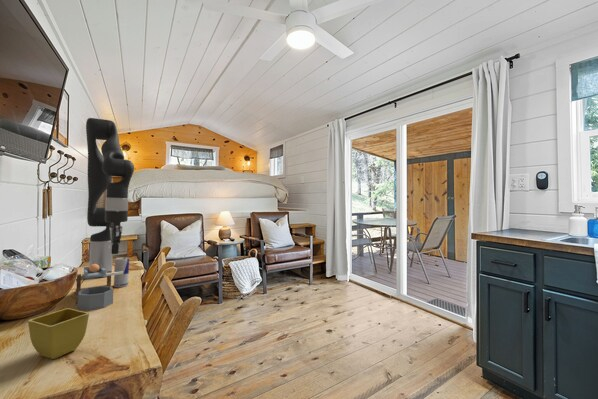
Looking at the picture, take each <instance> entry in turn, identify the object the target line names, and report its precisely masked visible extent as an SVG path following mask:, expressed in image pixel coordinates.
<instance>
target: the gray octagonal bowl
mask: <svg viewBox="0 0 598 399" xmlns="http://www.w3.org/2000/svg"><path fill="white" fill-rule="evenodd" d="M98 286H99V287H95V286H90V287H91V288H88V287H86V288H87V289H84V290H81V291H78V304H77V310H79V311H81V310H83V311H92V310H99V309H104V308H107V307H108V306H111V305H112V304H113V303H114V288H113V287H114V286H111V287H109V286H103V285H98Z"/></svg>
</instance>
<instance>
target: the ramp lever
mask: <svg viewBox="0 0 598 399" xmlns="http://www.w3.org/2000/svg"><path fill="white" fill-rule="evenodd" d="M119 274H123V271H121V272H114V271H112V273H106V270H105V269H104V268H103V265H102V266H99V270H98V271H97V272H95V273H92V272H90V271H89V266H84V267H83V274H82V273H81V279H82V278H83V280H90V279H91V280H92V279H99V278H100V279H101V278H105V277H104V276H110V275H111V276H114V275H119Z"/></svg>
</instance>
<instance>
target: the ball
mask: <svg viewBox="0 0 598 399" xmlns="http://www.w3.org/2000/svg"><path fill="white" fill-rule="evenodd" d="M88 267H89V266H88ZM98 270H99V265H97V264H92V265H90V267H89V271H90V272H92V273H95V272H97V271H98Z"/></svg>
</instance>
